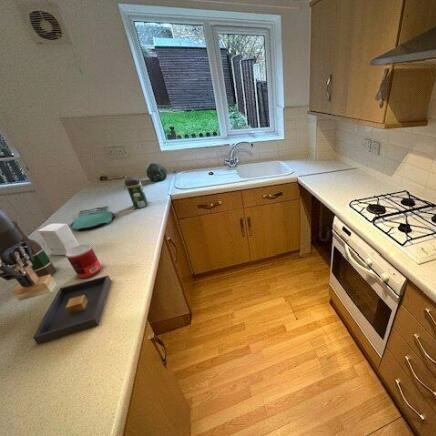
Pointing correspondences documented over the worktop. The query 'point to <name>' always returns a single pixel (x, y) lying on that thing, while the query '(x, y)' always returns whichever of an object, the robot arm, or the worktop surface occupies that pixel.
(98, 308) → the tray
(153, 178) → the squash
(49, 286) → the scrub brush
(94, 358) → the worktop surface
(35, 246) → the beer bottle
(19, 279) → the robot arm
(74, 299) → the orange brown wooden block
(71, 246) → the small box
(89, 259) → the canned food
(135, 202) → the coffee jar
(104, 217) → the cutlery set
